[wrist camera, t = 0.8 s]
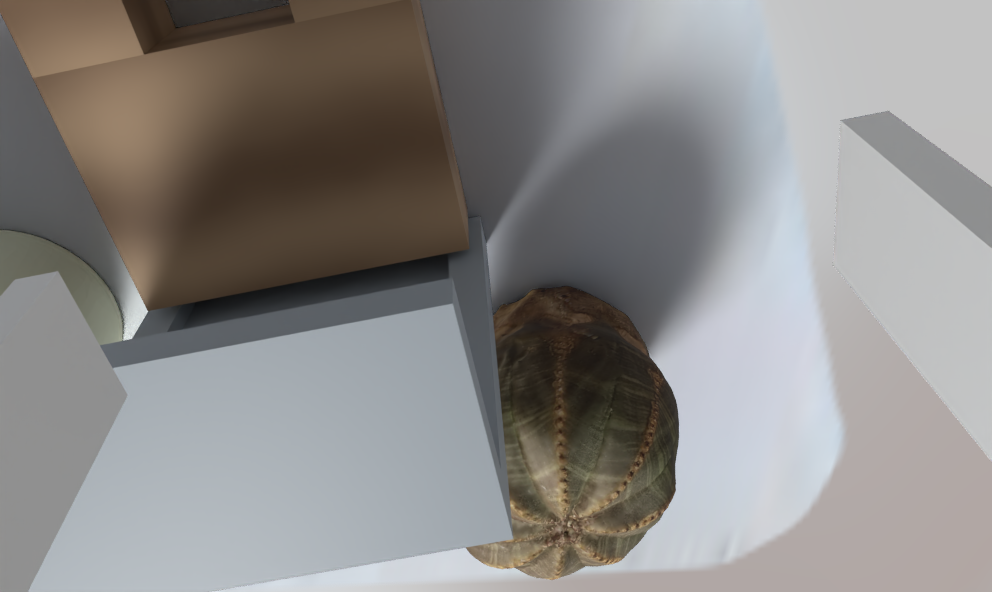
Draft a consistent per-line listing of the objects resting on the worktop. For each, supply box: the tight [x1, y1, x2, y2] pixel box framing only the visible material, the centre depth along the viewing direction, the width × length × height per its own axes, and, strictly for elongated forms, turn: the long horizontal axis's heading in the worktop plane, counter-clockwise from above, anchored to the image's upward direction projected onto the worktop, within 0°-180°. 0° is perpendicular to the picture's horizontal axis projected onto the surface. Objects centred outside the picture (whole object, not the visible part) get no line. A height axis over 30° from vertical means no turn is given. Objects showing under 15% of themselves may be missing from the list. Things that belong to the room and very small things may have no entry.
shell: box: [466, 286, 679, 580], centre depth 37 cm, size 11×11×12 cm
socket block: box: [0, 0, 469, 311], centre depth 31 cm, size 17×14×4 cm
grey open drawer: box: [28, 216, 513, 592], centre depth 29 cm, size 8×15×18 cm, turn 101°
